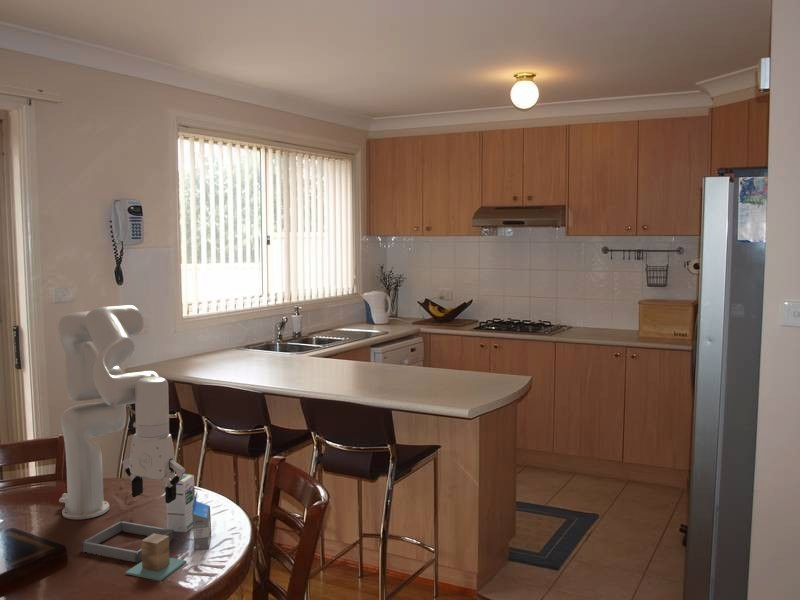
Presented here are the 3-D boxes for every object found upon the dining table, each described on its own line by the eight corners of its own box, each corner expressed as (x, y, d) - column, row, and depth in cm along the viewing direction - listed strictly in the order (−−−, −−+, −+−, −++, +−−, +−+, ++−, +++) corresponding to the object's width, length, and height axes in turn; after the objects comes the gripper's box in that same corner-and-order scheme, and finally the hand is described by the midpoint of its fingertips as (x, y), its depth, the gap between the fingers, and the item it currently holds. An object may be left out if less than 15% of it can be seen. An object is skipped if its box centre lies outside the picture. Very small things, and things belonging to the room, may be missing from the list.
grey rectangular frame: (81, 551, 184) (81, 542, 183) (121, 529, 197) (120, 520, 197) (137, 562, 178) (137, 552, 178) (174, 539, 191) (173, 530, 191)
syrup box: (186, 533, 195) (185, 481, 194) (166, 531, 196) (164, 479, 195) (196, 524, 201) (195, 474, 199) (176, 522, 202) (175, 472, 201)
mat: (125, 573, 172) (125, 571, 172) (153, 556, 181) (153, 554, 181) (160, 580, 169) (160, 578, 169) (186, 562, 178) (186, 560, 178)
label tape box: (209, 549, 185) (208, 503, 184) (192, 550, 185) (191, 504, 183) (211, 535, 194) (210, 491, 193) (196, 536, 193) (195, 492, 192)
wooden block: (142, 568, 174) (141, 540, 173) (154, 560, 178) (153, 533, 177) (157, 571, 172) (156, 543, 171) (169, 563, 176) (168, 536, 176)
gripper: (112, 429, 171) (113, 498, 173) (173, 437, 165) (174, 509, 167) (133, 421, 178) (135, 487, 180) (192, 429, 172) (193, 497, 174)
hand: (153, 498), depth 174 cm, fingers open, 9 cm apart
